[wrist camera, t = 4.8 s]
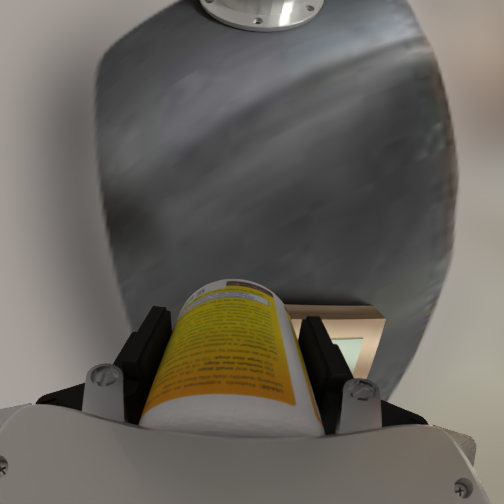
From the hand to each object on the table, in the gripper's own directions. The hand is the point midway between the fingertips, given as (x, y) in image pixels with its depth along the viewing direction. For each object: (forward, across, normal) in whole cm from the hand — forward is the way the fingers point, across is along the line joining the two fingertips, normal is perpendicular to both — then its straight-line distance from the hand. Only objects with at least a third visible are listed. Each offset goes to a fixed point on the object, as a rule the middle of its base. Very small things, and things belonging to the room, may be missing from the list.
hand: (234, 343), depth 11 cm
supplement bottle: (+2, 0, 0) cm, 2 cm away
